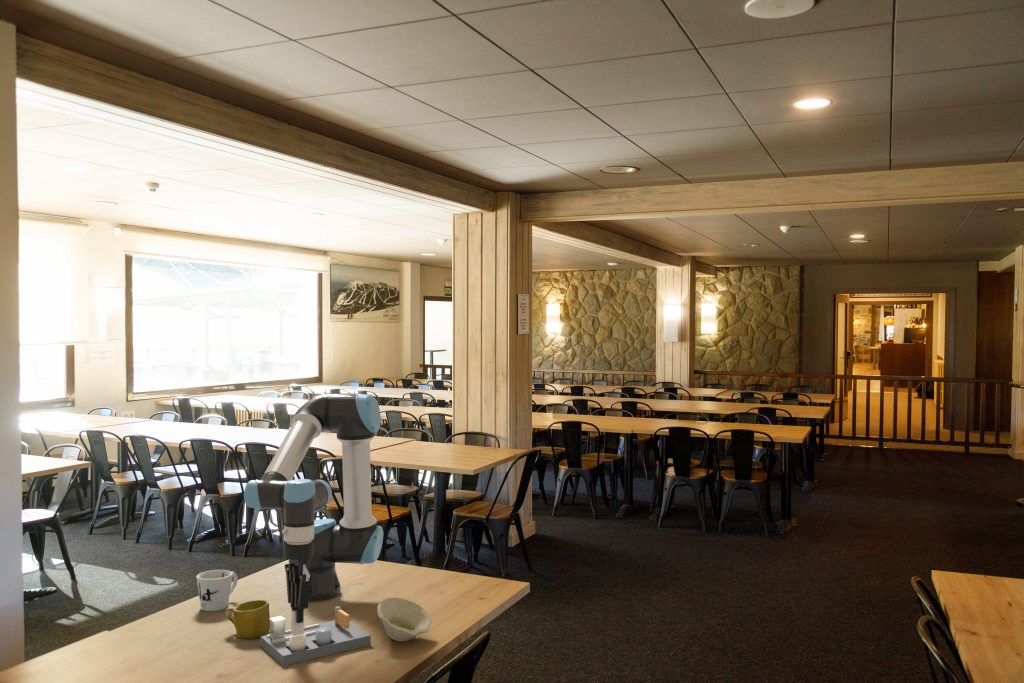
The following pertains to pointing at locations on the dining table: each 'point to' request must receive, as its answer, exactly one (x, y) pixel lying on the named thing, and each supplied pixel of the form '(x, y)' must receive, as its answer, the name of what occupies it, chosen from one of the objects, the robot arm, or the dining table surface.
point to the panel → (340, 643)
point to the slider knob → (277, 627)
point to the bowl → (403, 618)
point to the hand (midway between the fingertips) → (297, 634)
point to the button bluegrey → (323, 636)
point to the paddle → (341, 618)
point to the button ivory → (297, 643)
